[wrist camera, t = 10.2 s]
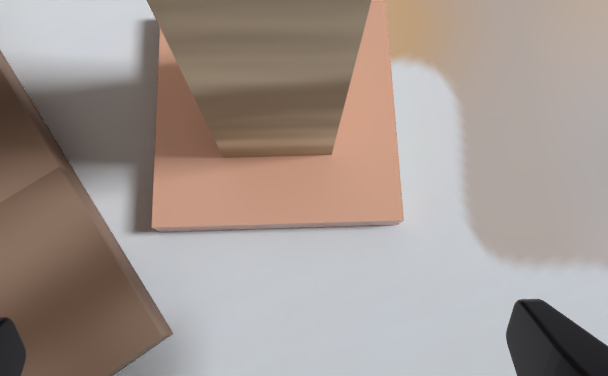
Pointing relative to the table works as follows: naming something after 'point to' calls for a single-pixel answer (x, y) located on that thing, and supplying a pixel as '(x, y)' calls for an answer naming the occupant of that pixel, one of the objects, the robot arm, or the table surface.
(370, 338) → the table surface
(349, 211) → the tile
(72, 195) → the board
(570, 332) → the robot arm
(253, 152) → the block
